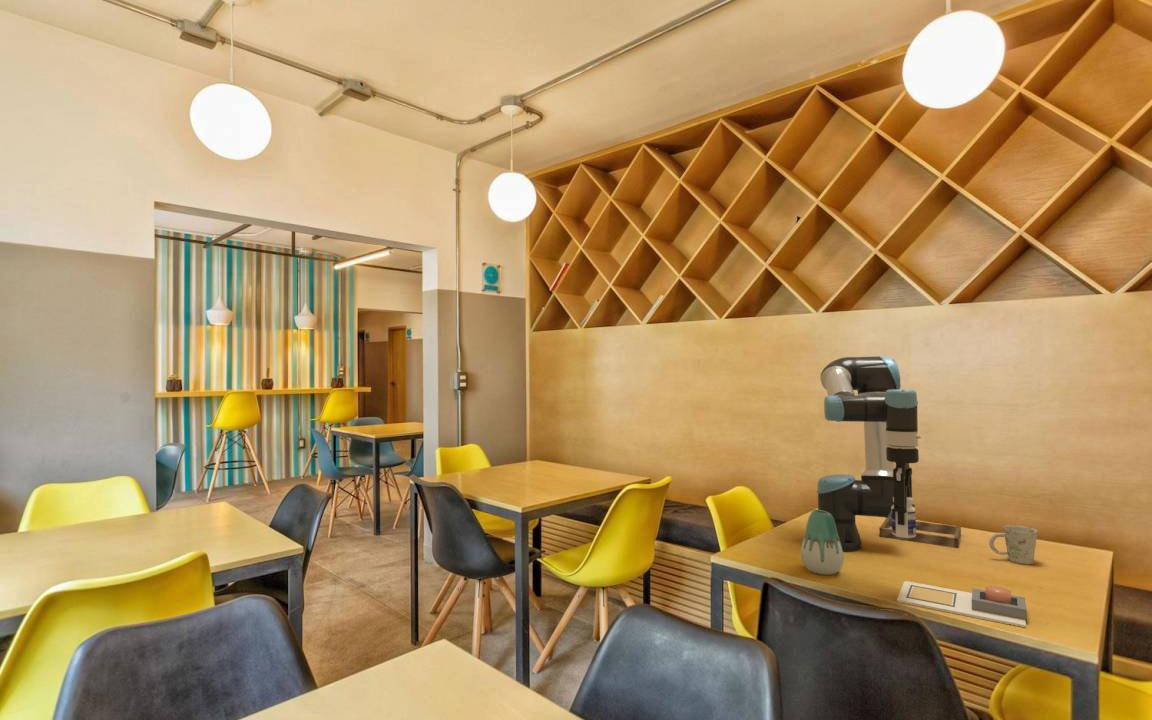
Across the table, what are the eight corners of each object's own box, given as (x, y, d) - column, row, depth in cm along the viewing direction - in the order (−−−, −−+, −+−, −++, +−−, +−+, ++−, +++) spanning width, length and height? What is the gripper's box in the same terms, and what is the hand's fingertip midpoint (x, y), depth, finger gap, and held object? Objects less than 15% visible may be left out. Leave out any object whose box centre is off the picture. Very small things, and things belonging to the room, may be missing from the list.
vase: (841, 567, 173) (840, 507, 174) (845, 580, 162) (844, 516, 163) (800, 563, 177) (799, 504, 177) (801, 575, 166) (800, 513, 166)
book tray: (879, 536, 204) (879, 528, 204) (887, 525, 219) (887, 517, 219) (958, 548, 191) (958, 538, 191) (960, 535, 205) (960, 526, 206)
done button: (985, 603, 140) (985, 590, 140) (985, 596, 144) (985, 584, 145) (1011, 608, 138) (1011, 595, 138) (1010, 601, 142) (1010, 588, 142)
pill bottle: (887, 532, 156) (886, 495, 156) (907, 532, 156) (906, 495, 156) (899, 538, 150) (898, 499, 150) (921, 538, 150) (920, 499, 151)
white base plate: (897, 601, 147) (896, 590, 147) (904, 583, 160) (904, 572, 160) (1027, 628, 131) (1027, 615, 131) (1024, 604, 144) (1024, 592, 144)
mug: (1044, 566, 172) (1043, 533, 172) (997, 564, 175) (996, 531, 175) (1028, 557, 180) (1027, 525, 180) (983, 555, 183) (982, 523, 183)
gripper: (912, 451, 144) (914, 544, 143) (923, 444, 159) (925, 529, 158) (879, 449, 149) (881, 539, 148) (892, 443, 163) (894, 525, 163)
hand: (904, 534), depth 153 cm, fingers closed on pill bottle, 6 cm apart
